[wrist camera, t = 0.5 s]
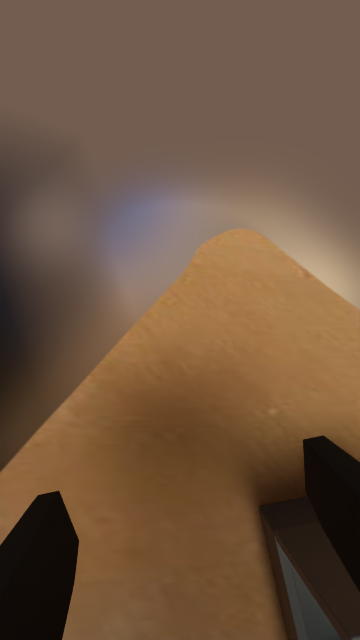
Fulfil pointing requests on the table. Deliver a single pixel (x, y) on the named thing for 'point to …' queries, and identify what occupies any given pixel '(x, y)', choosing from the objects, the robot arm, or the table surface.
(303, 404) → the table surface
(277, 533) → the lid
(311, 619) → the cooker
